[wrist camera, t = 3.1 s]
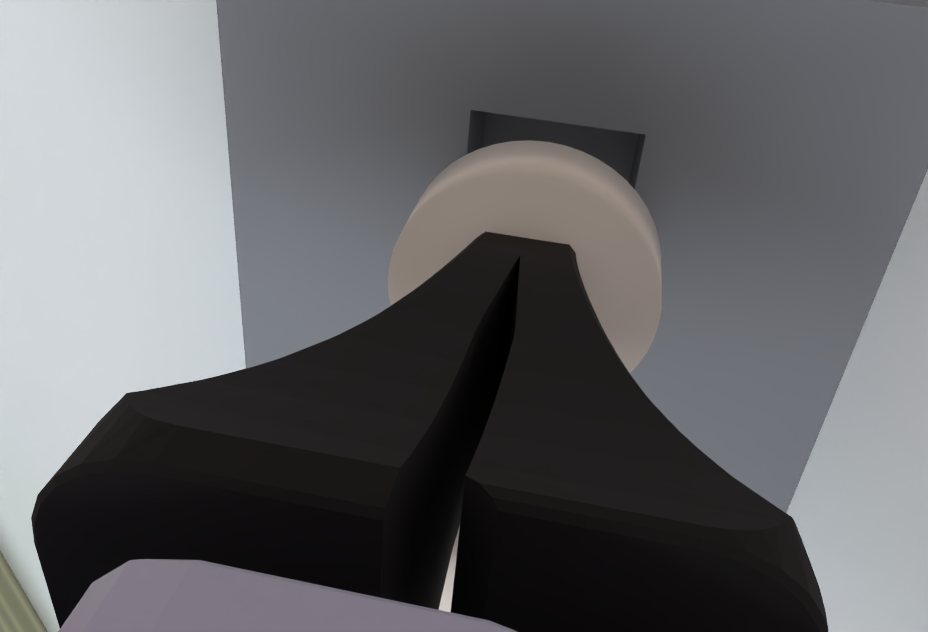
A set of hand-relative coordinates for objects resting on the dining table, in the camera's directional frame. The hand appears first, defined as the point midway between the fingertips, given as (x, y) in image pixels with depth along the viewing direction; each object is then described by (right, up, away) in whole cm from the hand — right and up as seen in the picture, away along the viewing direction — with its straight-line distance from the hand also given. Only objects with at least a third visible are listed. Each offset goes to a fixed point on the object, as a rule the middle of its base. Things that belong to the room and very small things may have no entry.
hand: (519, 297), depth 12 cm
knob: (+1, +2, +3) cm, 3 cm away
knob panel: (+1, -3, +10) cm, 10 cm away
